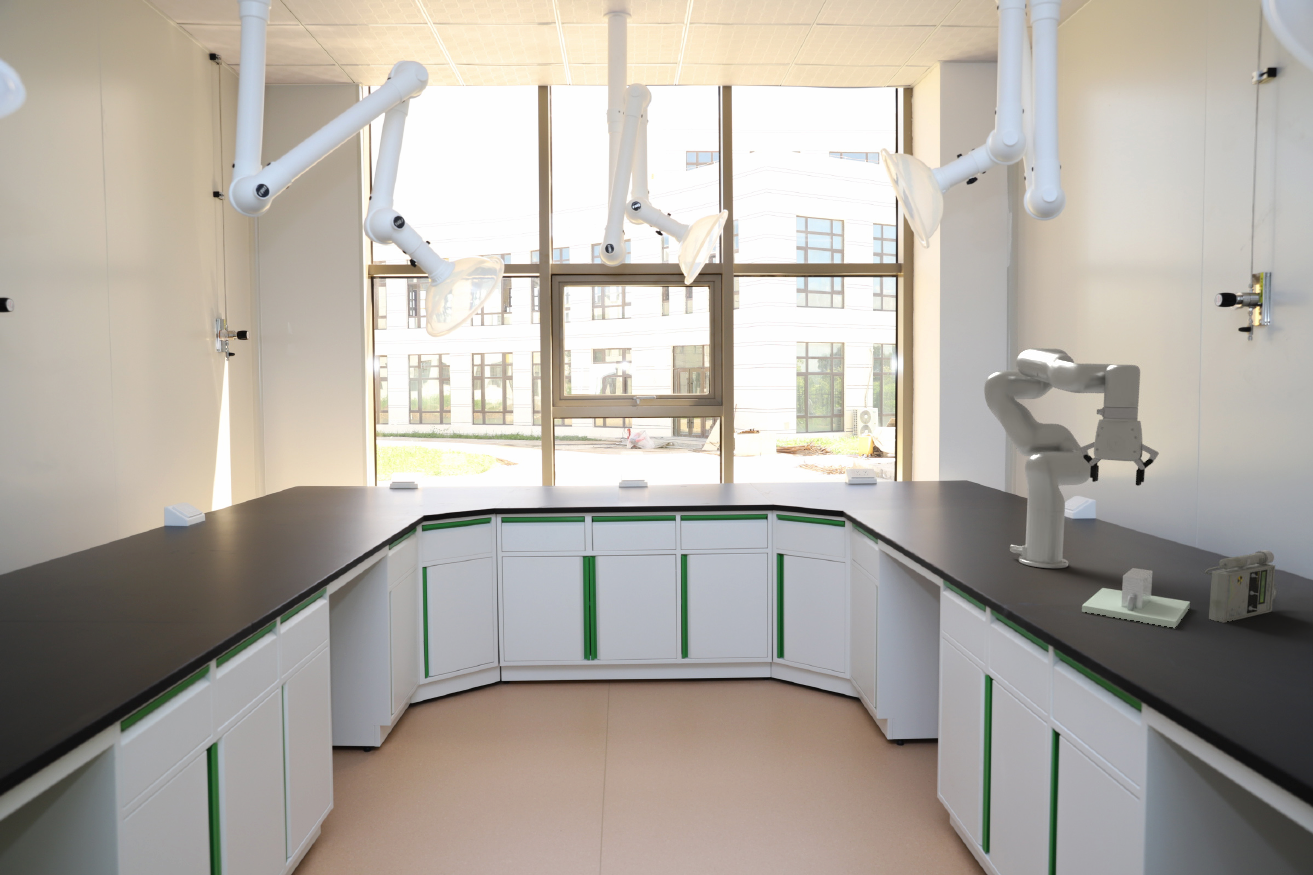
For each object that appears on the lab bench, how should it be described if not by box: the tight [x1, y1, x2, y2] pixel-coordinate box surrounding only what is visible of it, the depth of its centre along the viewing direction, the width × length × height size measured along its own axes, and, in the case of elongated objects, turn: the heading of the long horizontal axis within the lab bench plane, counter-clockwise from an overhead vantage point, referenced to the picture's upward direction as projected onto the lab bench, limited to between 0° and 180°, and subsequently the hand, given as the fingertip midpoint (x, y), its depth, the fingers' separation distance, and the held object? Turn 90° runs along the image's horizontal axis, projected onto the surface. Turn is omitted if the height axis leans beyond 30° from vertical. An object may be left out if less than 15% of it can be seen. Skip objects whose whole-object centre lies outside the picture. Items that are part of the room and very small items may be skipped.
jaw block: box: [1121, 567, 1153, 610], centre depth 187 cm, size 4×10×7 cm, turn 139°
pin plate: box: [1081, 587, 1191, 629], centre depth 188 cm, size 18×20×4 cm
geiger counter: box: [1204, 549, 1278, 624], centre depth 186 cm, size 14×6×25 cm
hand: (1116, 483), depth 206 cm, fingers open, 9 cm apart
